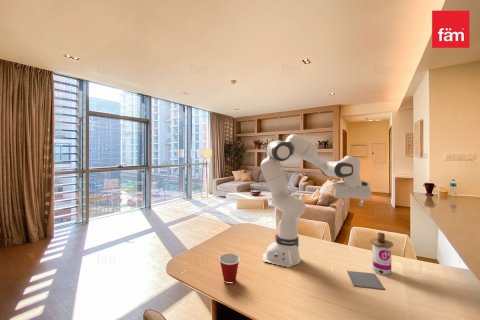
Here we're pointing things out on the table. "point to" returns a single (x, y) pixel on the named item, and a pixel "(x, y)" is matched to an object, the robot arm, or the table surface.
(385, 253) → the supplement can
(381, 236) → the lid
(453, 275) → the table surface
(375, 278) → the mat
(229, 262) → the plastic cup
